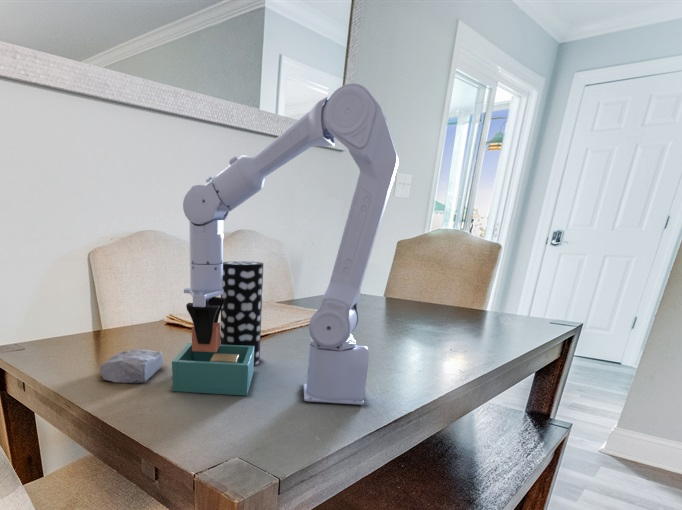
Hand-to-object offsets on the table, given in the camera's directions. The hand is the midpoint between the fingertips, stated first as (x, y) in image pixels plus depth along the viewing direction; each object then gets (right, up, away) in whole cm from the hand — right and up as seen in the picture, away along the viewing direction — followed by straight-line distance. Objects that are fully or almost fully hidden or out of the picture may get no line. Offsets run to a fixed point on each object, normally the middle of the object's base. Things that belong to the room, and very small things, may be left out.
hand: (206, 340), depth 85 cm
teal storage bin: (+2, -8, 0) cm, 8 cm away
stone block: (-15, -6, +5) cm, 17 cm away
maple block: (+3, -8, -2) cm, 9 cm away
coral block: (0, -2, +1) cm, 2 cm away
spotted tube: (+7, -3, +13) cm, 15 cm away
